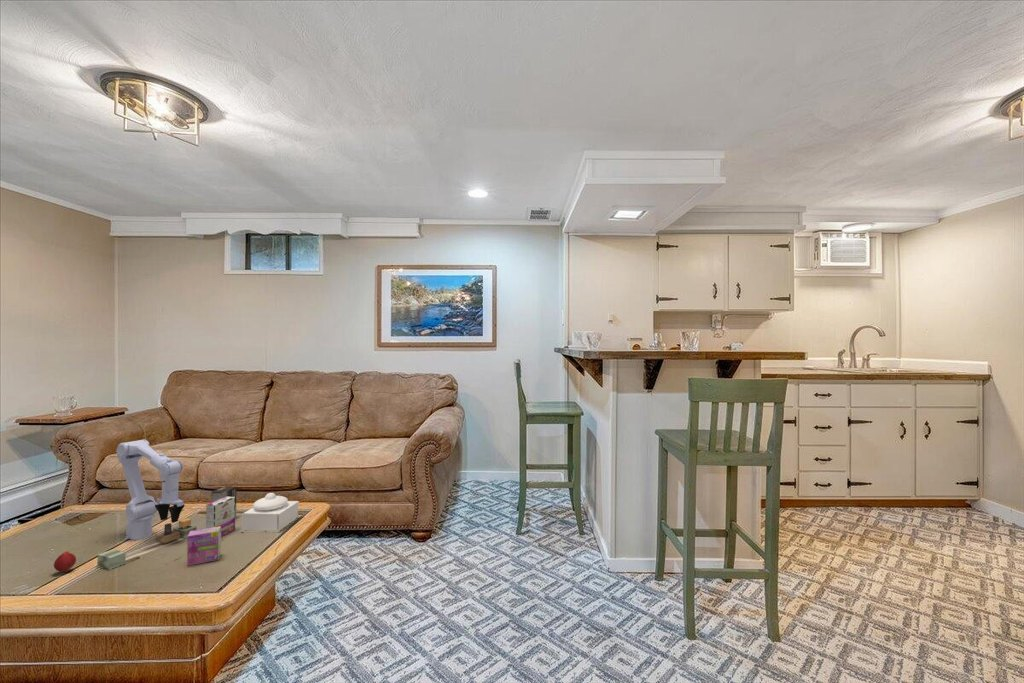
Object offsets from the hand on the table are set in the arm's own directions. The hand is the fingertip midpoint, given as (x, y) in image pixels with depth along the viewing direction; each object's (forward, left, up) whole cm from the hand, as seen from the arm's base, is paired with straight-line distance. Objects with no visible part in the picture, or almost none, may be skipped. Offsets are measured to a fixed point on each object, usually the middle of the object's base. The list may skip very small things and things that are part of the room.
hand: (169, 520), depth 188 cm
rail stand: (0, -7, -10) cm, 12 cm away
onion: (-10, -30, -10) cm, 33 cm away
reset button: (0, +7, -6) cm, 9 cm away
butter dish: (+24, +31, -10) cm, 40 cm away
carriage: (0, -1, -8) cm, 8 cm away
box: (+30, -5, -10) cm, 32 cm away
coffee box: (-2, +26, -10) cm, 28 cm away
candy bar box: (+14, +13, -10) cm, 22 cm away
